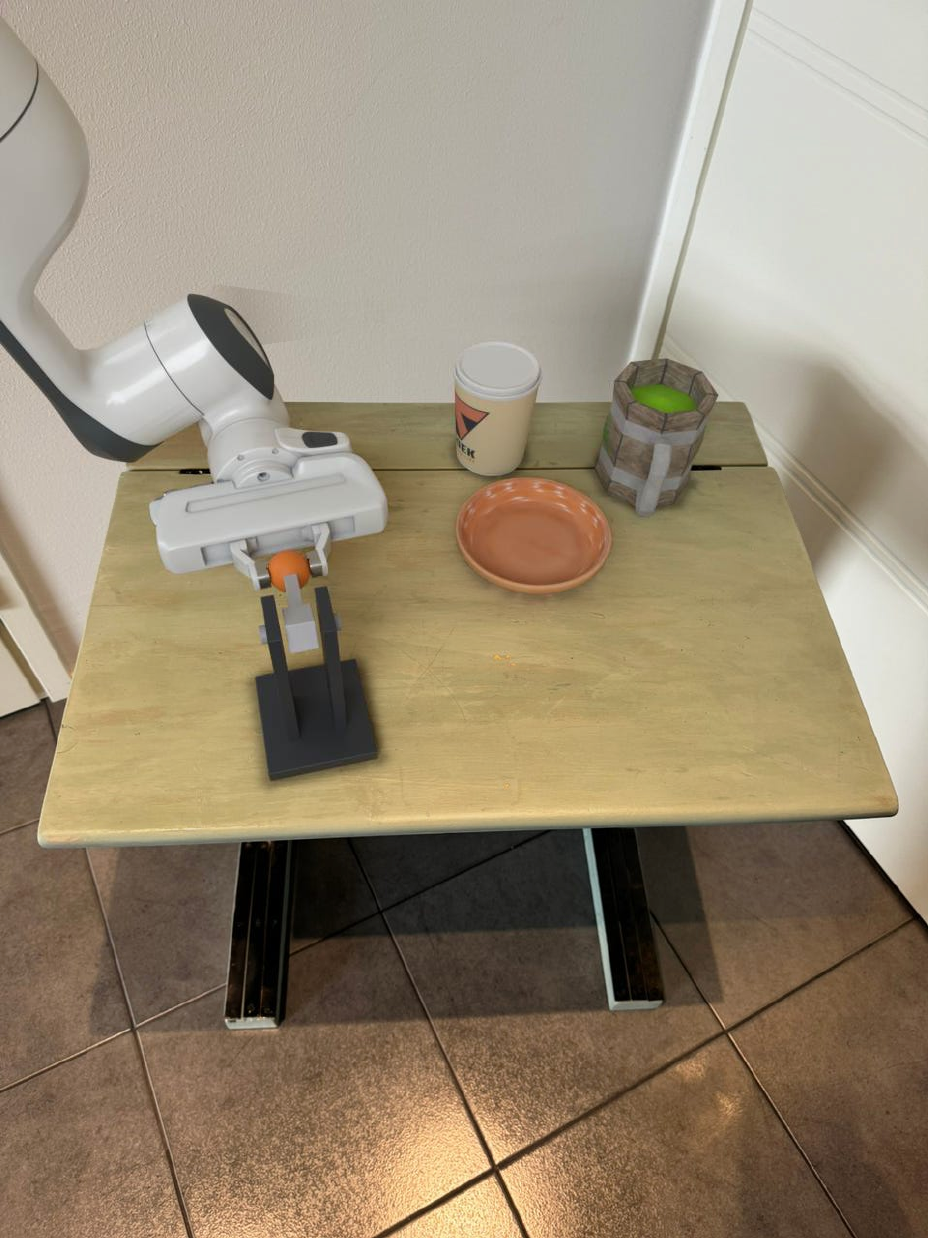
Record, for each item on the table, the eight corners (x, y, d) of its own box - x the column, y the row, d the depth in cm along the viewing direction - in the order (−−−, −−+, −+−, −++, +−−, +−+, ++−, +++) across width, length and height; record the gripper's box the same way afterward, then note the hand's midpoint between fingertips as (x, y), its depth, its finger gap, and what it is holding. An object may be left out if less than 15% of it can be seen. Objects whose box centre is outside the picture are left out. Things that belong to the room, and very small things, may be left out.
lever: (269, 584, 73) (262, 546, 71) (310, 577, 74) (305, 540, 72) (281, 662, 62) (273, 620, 60) (329, 653, 63) (323, 612, 61)
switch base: (256, 684, 75) (229, 573, 63) (355, 665, 77) (346, 555, 65) (270, 781, 69) (242, 679, 57) (377, 759, 71) (371, 655, 59)
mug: (596, 439, 99) (616, 351, 90) (687, 452, 99) (717, 364, 89) (588, 531, 89) (609, 442, 80) (689, 546, 89) (722, 459, 79)
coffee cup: (439, 435, 98) (442, 345, 89) (513, 423, 100) (524, 334, 91) (463, 487, 93) (469, 397, 83) (541, 473, 95) (556, 384, 85)
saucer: (434, 583, 83) (435, 562, 81) (478, 482, 93) (480, 461, 91) (590, 624, 81) (595, 604, 79) (619, 516, 91) (624, 496, 89)
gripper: (137, 469, 74) (155, 579, 65) (362, 429, 79) (405, 526, 70) (154, 521, 78) (173, 630, 70) (365, 480, 84) (406, 577, 75)
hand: (291, 578), depth 70 cm, fingers closed on lever, 3 cm apart
